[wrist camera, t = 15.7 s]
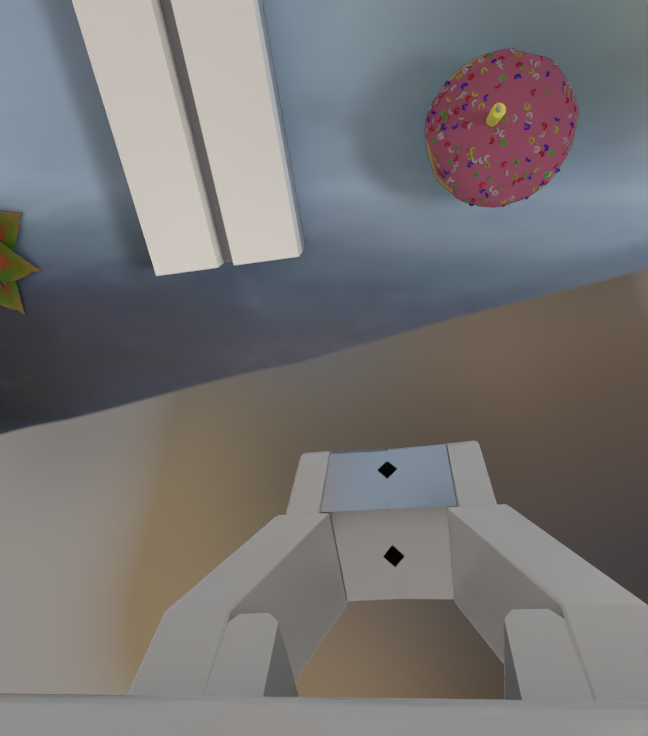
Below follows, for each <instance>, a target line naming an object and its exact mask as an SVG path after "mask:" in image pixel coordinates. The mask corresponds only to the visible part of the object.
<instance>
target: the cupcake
mask: <svg viewBox="0 0 648 736" xmlns="http://www.w3.org/2000/svg"><path fill="white" fill-rule="evenodd" d="M568 83H569V84H570V86H569V84H568ZM571 86H572V84H571V82H567V80H566V79H565V77H564V75H563V74H562V72H561V70H560V69H559V67H558V64H557V63H554V62H553V61H552V60H551V59H549V58H546V57H543V56H537V55H532V54H528V53H525V52H522V51H519V50H514V49H513V48H510V49H503V50H498V51H495V52H492V53H488V54H485V55H482V56H479V57H477V58H475V59H473V60H472V61H470V62H468V63H467V64H465V65H464V66H463V67H461V68H460V69H459V70H458V71H456V72H455V73H454V74H453V75H452V76H451V77H450V78H449V79H448V80H447V81H446V83H445V84H444V86H443V87H442V88H441V90H440V92H439V94H438V95H437V97H436V98H435V99H434V101H433V102H432V104H431V106H430V108H429V111H428V114H427V117H426V122H425V137H426V139H427V154H428V157H429V160H430V163H431V167H432V170H433V173H434V175H435V177H436V179H437V180H438V182H439V183H440V184H441V185H442V186H443V187H444V188H445V189H447V190H448V191H449V192H451V193H452V194H453V195H454V196H455V197H456V198H457V199H459V200H461V201H463V202H465V203H469V205H470V206H473V205H477V206H481V207H500V206H502V207H503V206H505V205H507V204H510V203H513V202H517V201H520V200H522V199H525V198H526V199H528V197H529V196H530V195H532V194H534V193H535V192H537V191H538V190H541V188H542V187H543V186H544V185H546V184H547V183H548V182H549V181H550V180H551V179H552V178H553V176H554V175H555V174H556V173H557V172H559V171H560V169H559V168H560V166H561V164H562V163H563V161H564V159H565V158H566V156H567V154H568V152H569V150H570V147H571V145H572V141H573V138H574V133H575V128H576V124H577V119H578V106H577V102H576V100H575V94H573V92H572V90H571Z"/></svg>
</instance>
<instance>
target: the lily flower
mask: <svg viewBox="0 0 648 736" xmlns="http://www.w3.org/2000/svg"><path fill="white" fill-rule="evenodd" d="M22 213H23V212H20V213H15V212H7V213H5V212H4V211H0V281H1V282H3V286H4V287H5V289H6V290H5V289H4V288H3V287H2V286H0V305H1V306H3V307H6V308H9V309H12V310H18V311H19V312H20V313H22V314H24V315H25V313H24V310H23V306H22V303H21V301H20V300H21V298H20V294H19V291H18V287H17V284H16V280H18V279H21V278H23V277H25V276H27V275H29V274H30V273H31V272H32V271H34V272H37V271H41V270H40V269H38V268H36V267H35V266H33V265H32V264H30V263H29V262H28V261H25V260H23V258H22V257H21V256H19V255H18V254H16V253H15V252H13V251H12V250H13V248H14V246H15V243H16V239H17V235H18V230H19V219H20V218H21V215H22Z"/></svg>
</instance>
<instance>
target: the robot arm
mask: <svg viewBox="0 0 648 736" xmlns="http://www.w3.org/2000/svg"><path fill="white" fill-rule="evenodd" d="M399 597H400V598H399ZM382 599H383V600H384V599H454V602H455V603H456V604H457V606H458V607H459V608H460V609H461V611H462V612H463V613H464V614H465V616H466V617H467V618H468V619H469V621H470V622H471V623H472V625H473V626H474V627H475V628H476V630H477V631H478V632H479V633H480V635H481V636H482V637H483V638H484V640H485V641H486V642H487V643H488V645H489V646H490V647H491V648H492V650H493V651H494V652H495V654H496V655H497V656H498V657H499V659H500V660H501V661H502V662H503V664H504V665H505V700H486V699H484V700H481V699H410V698H407V699H406V698H404V699H403V698H333V697H331V698H329V697H327V698H325V697H299V694H298V691H297V687H296V683H295V681H296V679H297V678H298V676H299V675H300V673H301V672H302V670H303V669H304V667H305V666H306V664H307V662H308V661H309V660H310V658H311V657H312V655H313V654H314V653H315V651H316V650H317V648H318V647H319V645H320V644H321V642H322V641H323V639H324V637H325V636H326V635H327V633H328V632H329V631H330V629H331V628H332V626H333V625H334V623H335V622H336V620H337V619H338V617H339V616H340V614H341V613H342V611H343V610H344V608H345V607H346V605H347V601H362V600H382ZM0 736H648V605H647V604H645V603H644V602H643V601H641V600H640V599H638V598H637V597H636V596H634V595H633V594H631V593H630V592H628V591H627V590H626V589H624V588H623V587H622V586H620V585H619V584H617V583H616V582H614V581H613V580H612V579H610V578H609V577H607V576H606V575H605V574H603V573H602V572H601V571H599V570H598V569H596V568H595V567H593V566H592V565H591V564H589V563H588V562H587V561H585V560H584V559H582V558H581V557H579V556H578V555H577V554H575V553H574V552H572V551H571V550H570V549H568V548H567V547H565V546H564V545H562V544H561V543H560V542H559V541H557V540H556V539H554V538H553V537H551V536H550V535H549V534H547V533H546V532H545V531H543V530H541V529H540V528H539V527H537V526H536V525H535V524H533V523H532V522H531V521H529V520H528V519H526V518H525V517H524V516H522V515H521V514H519V513H518V512H516V511H515V510H514V509H512V508H511V507H510V506H508V505H506V504H503V505H497V503H496V500H495V497H494V493H493V490H492V487H491V483H490V480H489V477H488V473H487V470H486V466H485V463H484V460H483V457H482V453H481V450H480V446H479V443H478V442H476V441H468V442H459V443H449V444H444V445H432V446H420V447H409V448H397V449H368V450H346V451H332V452H330V451H327V452H312V453H304V454H303V455H302V456H301V457H300V460H299V464H298V468H297V472H296V476H295V480H294V484H293V488H292V492H291V496H290V499H289V503H288V507H287V511H286V515H280V516H279V515H278V516H276V517H275V518H274V519H273V520H271V521H270V522H269V523H268V524H267V525H266V526H264V527H263V528H262V529H261V530H260V531H259V532H257V533H256V534H255V535H254V536H253V537H252V538H250V539H249V540H248V541H247V542H246V543H245V544H243V545H242V546H241V547H240V548H239V549H238V550H236V551H235V552H234V553H233V554H232V555H231V556H230V557H228V558H227V559H226V560H225V561H224V562H222V563H221V564H220V565H219V566H218V567H217V568H215V569H214V570H213V571H212V572H211V573H210V574H208V575H207V576H206V577H205V578H204V579H203V580H202V581H200V582H199V583H198V584H197V585H196V586H195V587H193V588H192V589H191V590H190V591H189V592H187V593H186V594H185V595H184V596H183V597H182V598H181V599H179V600H178V601H177V602H176V603H175V604H173V605H172V606H171V607H170V608H169V609H168V610H167V611H165V612H164V614H163V617H162V619H161V621H160V623H159V626H158V628H157V630H156V632H155V634H154V637H153V639H152V641H151V643H150V645H149V648H148V650H147V652H146V654H145V656H144V659H143V661H142V663H141V665H140V667H139V670H138V672H137V674H136V676H135V678H134V681H133V683H132V685H131V687H130V690H129V692H128V694H127V695H94V694H15V693H11V694H10V693H0Z"/></svg>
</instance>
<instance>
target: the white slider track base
mask: <svg viewBox="0 0 648 736" xmlns="http://www.w3.org/2000/svg"><path fill="white" fill-rule="evenodd" d="M72 3H73V6H74V9H75V13H76V16H77V19H78V22H79V26H80V29H81V32H82V36H83V39H84V42H85V45H86V49H87V52H88V55H89V58H90V62H91V65H92V68H93V71H94V75H95V78H96V81H97V85H98V88H99V91H100V94H101V98H102V101H103V104H104V107H105V111H106V114H107V117H108V120H109V124H110V127H111V130H112V133H113V137H114V140H115V143H116V147H117V150H118V153H119V156H120V160H121V163H122V166H123V169H124V173H125V176H126V179H127V182H128V186H129V189H130V192H131V195H132V199H133V202H134V205H135V209H136V212H137V215H138V218H139V222H140V225H141V228H142V231H143V235H144V238H145V241H146V244H147V248H148V251H149V254H150V257H151V261H152V264H153V267H154V271H155V274H156V276H160V275H168V274H175V273H183V272H190V271H197V270H205V269H212V268H218V267H219V266H221V265H222V264H223V263H224V262H232V261H233V265H241V264H249V263H256V262H263V261H271V260H278V259H286V258H293V257H299V256H300V255H301V253H302V251H303V250H304V248H305V243H304V237H303V232H302V226H301V220H300V215H299V209H298V203H297V197H296V192H295V186H294V180H293V174H292V169H291V163H290V157H289V152H288V146H287V140H286V134H285V129H284V123H283V117H282V111H281V106H280V100H279V94H278V89H277V83H276V77H275V71H274V66H273V60H272V54H271V48H270V43H269V37H268V31H267V26H266V20H265V14H264V8H263V3H262V0H72Z"/></svg>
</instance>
